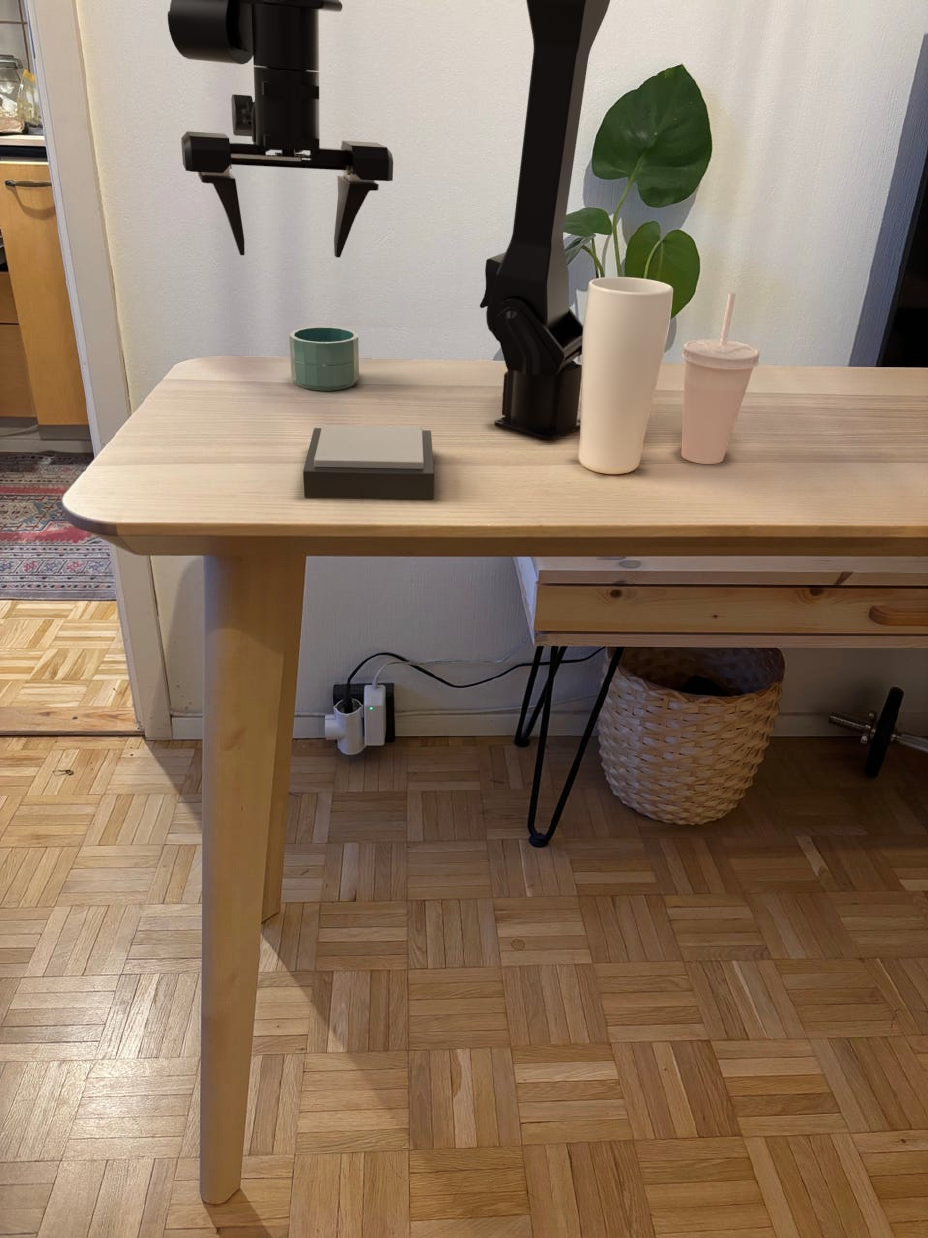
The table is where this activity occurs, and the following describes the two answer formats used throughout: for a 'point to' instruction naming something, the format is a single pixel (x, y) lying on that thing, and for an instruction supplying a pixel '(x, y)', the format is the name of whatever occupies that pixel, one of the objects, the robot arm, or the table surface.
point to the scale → (369, 462)
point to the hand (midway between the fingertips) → (290, 255)
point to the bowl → (324, 358)
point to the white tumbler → (620, 368)
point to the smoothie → (714, 392)
